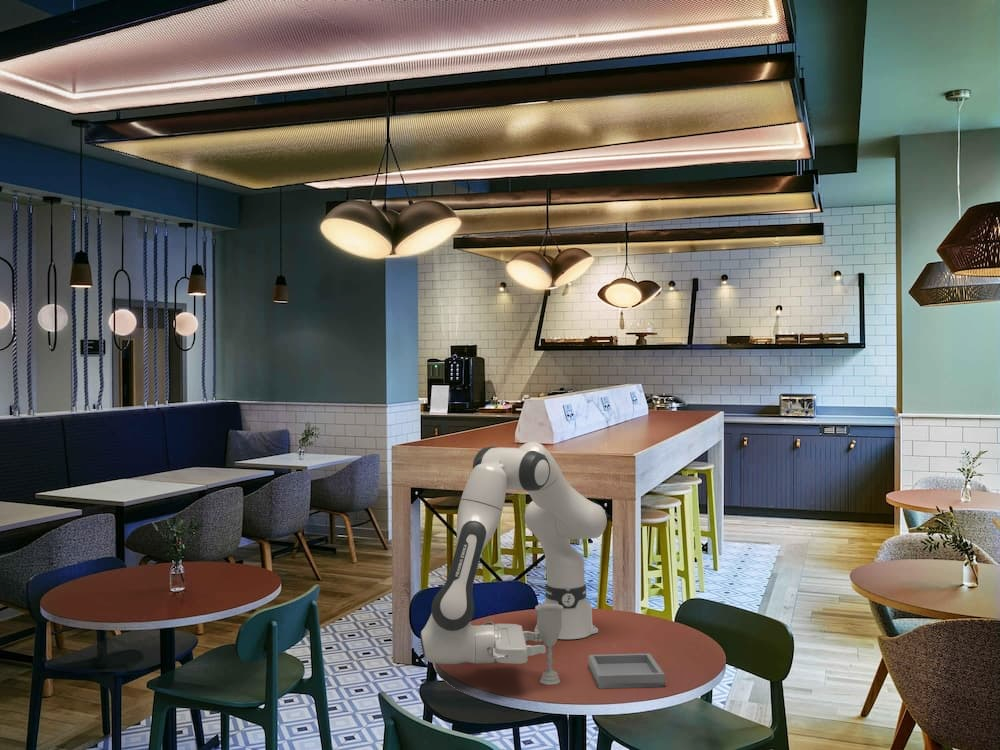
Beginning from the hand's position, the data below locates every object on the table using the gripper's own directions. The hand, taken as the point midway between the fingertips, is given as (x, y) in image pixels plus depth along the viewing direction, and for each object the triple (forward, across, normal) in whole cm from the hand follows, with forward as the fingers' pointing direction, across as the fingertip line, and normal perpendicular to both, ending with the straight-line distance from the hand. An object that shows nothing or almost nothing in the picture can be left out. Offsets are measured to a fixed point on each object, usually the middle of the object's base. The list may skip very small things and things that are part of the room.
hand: (543, 642), depth 206 cm
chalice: (+1, 0, +10) cm, 10 cm away
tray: (+20, +2, +9) cm, 23 cm away
